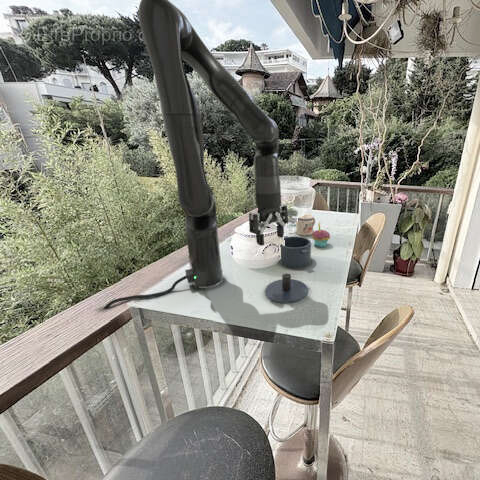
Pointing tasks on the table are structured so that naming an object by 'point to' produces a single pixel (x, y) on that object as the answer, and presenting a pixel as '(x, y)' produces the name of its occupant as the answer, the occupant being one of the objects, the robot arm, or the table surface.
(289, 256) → the pot
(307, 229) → the teacup with lid
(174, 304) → the table surface
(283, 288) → the lid
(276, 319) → the table surface
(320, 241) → the cupcake
